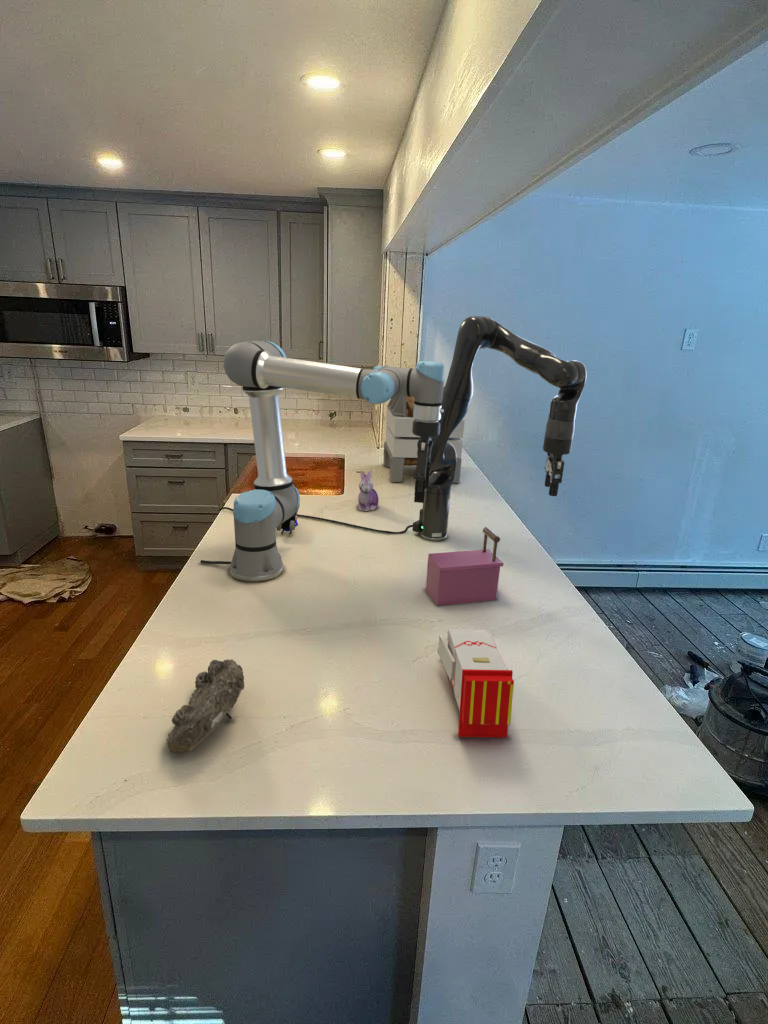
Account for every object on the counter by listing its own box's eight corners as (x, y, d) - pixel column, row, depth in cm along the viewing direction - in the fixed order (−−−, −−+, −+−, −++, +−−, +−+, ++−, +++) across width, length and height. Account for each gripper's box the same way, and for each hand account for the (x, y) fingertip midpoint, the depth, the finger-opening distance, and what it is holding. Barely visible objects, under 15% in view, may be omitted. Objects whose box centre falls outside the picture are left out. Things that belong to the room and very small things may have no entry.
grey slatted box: (382, 463, 289) (386, 382, 275) (445, 464, 293) (451, 384, 279) (390, 482, 257) (394, 392, 243) (460, 483, 261) (468, 394, 247)
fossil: (192, 660, 117) (244, 628, 112) (224, 691, 120) (276, 661, 115) (142, 746, 98) (202, 712, 93) (182, 779, 101) (242, 748, 96)
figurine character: (295, 541, 193) (300, 520, 206) (295, 521, 190) (300, 502, 203) (275, 540, 193) (282, 520, 206) (274, 520, 189) (281, 501, 203)
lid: (488, 552, 162) (491, 525, 160) (503, 566, 154) (506, 537, 151) (428, 557, 158) (430, 528, 155) (440, 571, 149) (442, 542, 146)
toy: (488, 613, 130) (523, 677, 101) (484, 667, 133) (517, 744, 104) (435, 612, 130) (455, 676, 101) (432, 666, 133) (451, 743, 103)
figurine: (362, 513, 218) (363, 475, 213) (351, 505, 226) (352, 468, 221) (384, 510, 222) (385, 473, 217) (372, 502, 230) (374, 466, 225)
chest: (481, 584, 166) (485, 553, 162) (496, 599, 157) (500, 566, 154) (425, 589, 161) (428, 557, 158) (437, 605, 153) (439, 571, 149)
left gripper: (437, 430, 142) (431, 510, 149) (443, 413, 165) (437, 483, 172) (407, 428, 143) (402, 507, 150) (417, 411, 166) (413, 481, 173)
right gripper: (541, 429, 163) (534, 482, 169) (548, 439, 150) (540, 497, 156) (568, 431, 163) (559, 484, 168) (577, 441, 149) (568, 500, 155)
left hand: (421, 494), depth 161 cm, fingers open, 13 cm apart
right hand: (550, 491), depth 162 cm, fingers open, 8 cm apart
